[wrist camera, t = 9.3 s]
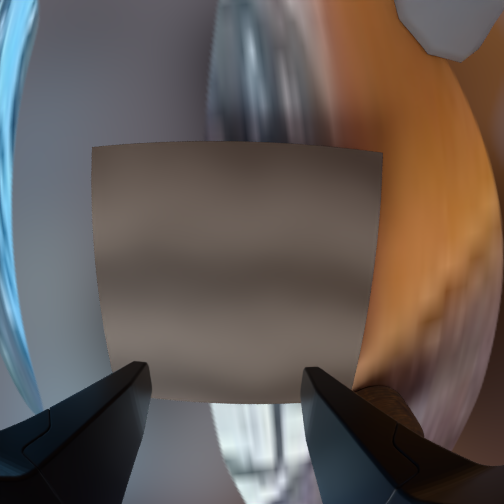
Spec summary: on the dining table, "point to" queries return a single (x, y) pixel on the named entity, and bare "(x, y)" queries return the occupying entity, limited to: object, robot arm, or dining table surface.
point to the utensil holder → (391, 406)
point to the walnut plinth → (235, 263)
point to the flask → (449, 24)
